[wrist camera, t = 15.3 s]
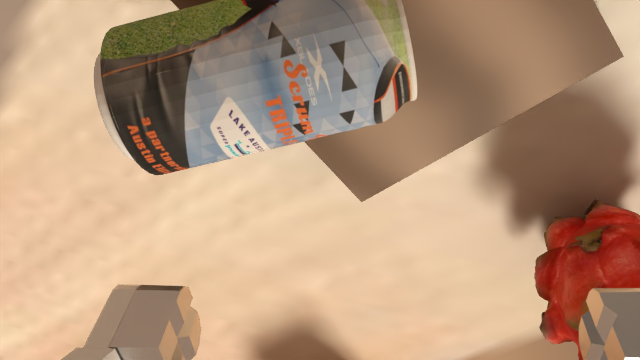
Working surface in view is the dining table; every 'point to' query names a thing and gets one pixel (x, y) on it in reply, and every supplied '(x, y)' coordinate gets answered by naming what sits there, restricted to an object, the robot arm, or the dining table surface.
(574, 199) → the dining table surface
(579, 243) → the dragon fruit
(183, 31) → the beverage can
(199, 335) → the robot arm
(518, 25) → the walnut base
